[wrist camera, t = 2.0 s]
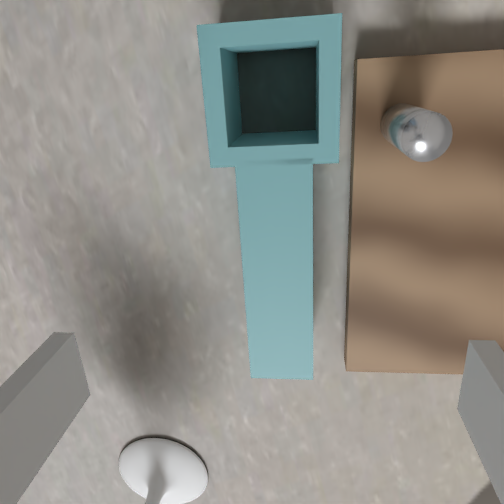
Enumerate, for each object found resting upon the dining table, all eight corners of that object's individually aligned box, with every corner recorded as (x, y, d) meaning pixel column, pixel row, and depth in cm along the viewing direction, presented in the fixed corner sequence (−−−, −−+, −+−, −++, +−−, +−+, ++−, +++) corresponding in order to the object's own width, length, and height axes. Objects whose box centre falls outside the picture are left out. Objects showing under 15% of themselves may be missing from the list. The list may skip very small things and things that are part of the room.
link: (218, 35, 24) (196, 24, 19) (333, 26, 23) (342, 12, 18) (242, 329, 32) (231, 377, 27) (328, 331, 31) (334, 380, 26)
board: (354, 60, 24) (357, 59, 22) (665, 39, 22) (689, 36, 20) (344, 358, 32) (346, 371, 31) (569, 363, 30) (582, 377, 29)
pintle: (376, 102, 25) (402, 112, 18) (415, 100, 24) (455, 110, 18) (374, 140, 25) (398, 162, 19) (411, 139, 25) (449, 160, 19)
